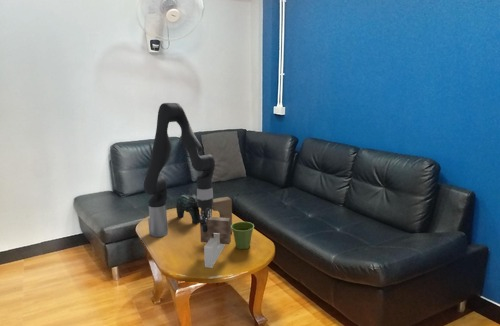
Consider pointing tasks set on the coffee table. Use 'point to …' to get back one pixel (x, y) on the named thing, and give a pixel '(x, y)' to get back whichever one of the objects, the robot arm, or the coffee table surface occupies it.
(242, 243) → the plant pot
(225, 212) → the decorative block
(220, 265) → the coffee table surface
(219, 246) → the white notched plate
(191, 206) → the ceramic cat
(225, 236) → the walnut notched plate
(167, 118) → the robot arm
